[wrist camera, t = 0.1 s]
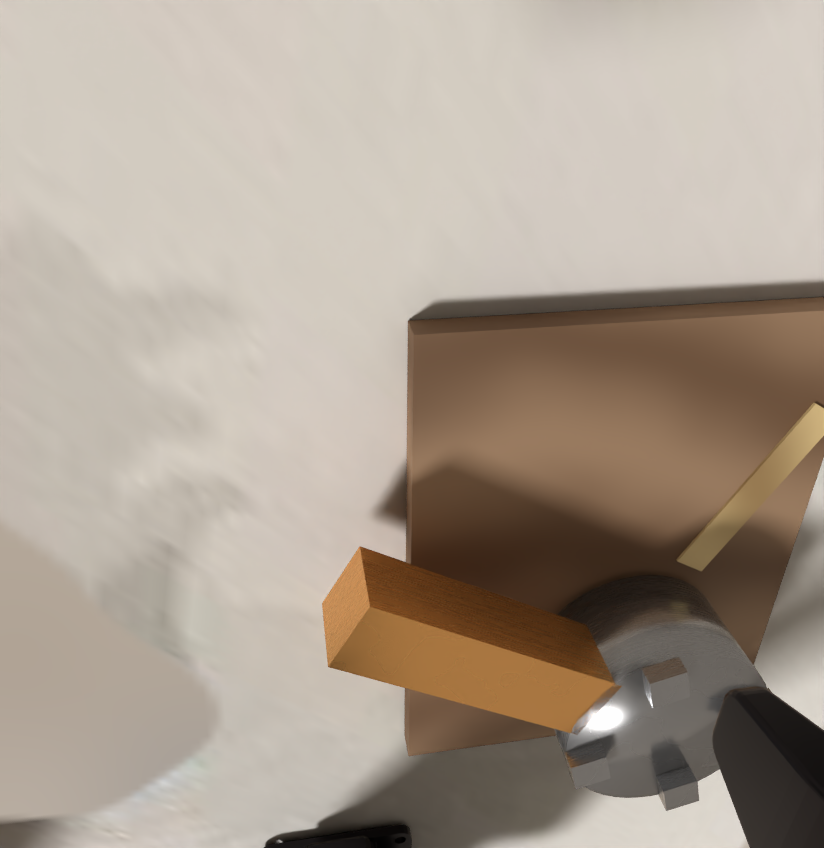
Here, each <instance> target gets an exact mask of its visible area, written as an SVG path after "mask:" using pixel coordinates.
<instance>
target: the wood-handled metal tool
mask: <svg viewBox="0 0 824 848" xmlns="http://www.w3.org/2000/svg"><path fill="white" fill-rule="evenodd" d="M322 607H323V618H324V628H325V639H326V649H327V660H328V667H330V668H334V669H338V670H341V671H345V672H349V673H352V674H356V675H360V676H363V677H367V678H371V679H374V680H378V681H382V682H385V683H389V684H393V685H396V686H400V687H404V688H407V689H411V690H415V691H418V692H422V693H425V694H429V695H433V696H436V697H440V698H444V699H447V700H451V701H455V702H458V703H462V704H466V705H469V706H473V707H477V708H480V709H484V710H488V711H491V712H495V713H499V714H502V715H506V716H510V717H513V718H517V719H521V720H524V721H528V722H532V723H535V724H539V725H542V726H546V727H550V728H553V729H554V730H555V733H556V735H557V738H558V741H559V743H560V746H561V748H562V751H563V754H564V756H565V759H566V762H567V764H568V768H569V773H570V775H571V778H572V781H573V783H574V786H575V789H579V788H582V787H586V788H588V789H590V790H592V791H594V792H597V793H600V794H603V795H608V796H613V797H624V798H632V797H645V796H652V795H658V794H659V797H660V799H661V801H662V803H663V805H664V807H665V809H666V811H668V810H671V809H674V808H677V807H680V806H683V805H687V804H690V803H693V802H696V801H699V795H698V783H697V781H699V780H701V779H703V778H705V777H707V776H709V775H711V774H712V773H714V772H715V771H717V770H719V769H720V767H719V765H718V762H717V760H716V757H715V754H714V750H713V745H712V733H713V730H714V727H715V724H716V721H717V718H718V715H719V712H720V709H721V706H722V703H723V700H724V697H725V695H726V694H727V693H728V692H729V691H730V690H732V689H739V688H747V687H762V688H765V689H767V690H769V691H770V689H769V688H767V687H766V684H765V682H764V681H763V679H762V677H761V676H760V674H759V673H758V671H757V670H756V669H755V667H754V666H753V664H752V663H751V661H750V660H749V659H748V657H747V656H746V654H745V653H744V651H743V650H742V649H741V647H740V646H739V644H738V643H737V641H736V640H735V639H734V637H733V636H732V634H731V633H730V631H729V630H728V629H727V627H726V626H725V624H724V623H723V621H722V620H721V619H720V617H719V616H718V614H717V613H716V611H715V610H714V608H713V607H712V606H711V604H710V603H709V601H708V600H707V598H706V597H705V596H704V595H703V594H702V593H701V592H700V590H698V589H697V588H696V587H694V586H693V585H691V584H689V583H687V582H685V581H683V580H680V579H677V578H674V577H668V576H663V575H640V576H633V577H627V578H623V579H619V580H615V581H612V582H609V583H607V584H604V585H601V586H599V587H597V588H595V589H593V590H590V591H588V592H587V593H585V594H583V595H582V596H580V597H578V598H577V599H575V600H574V601H573V602H571V603H570V604H568V605H567V606H566V607H565V608H564V609H562V610H561V611H560V612H559V613H558V614H557V615H556V614H553V613H550V612H548V611H545V610H542V609H539V608H536V607H533V606H530V605H527V604H524V603H522V602H519V601H516V600H513V599H510V598H507V597H504V596H501V595H499V594H496V593H493V592H490V591H487V590H484V589H481V588H478V587H475V586H473V585H470V584H467V583H464V582H461V581H458V580H455V579H452V578H449V577H447V576H444V575H441V574H438V573H435V572H432V571H429V570H426V569H424V568H421V567H418V566H415V565H412V564H409V563H406V562H403V561H400V560H398V559H395V558H392V557H389V556H386V555H383V554H380V553H377V552H374V551H372V550H369V549H366V548H363V547H359V548H358V550H357V551H356V553H355V554H354V556H353V557H352V559H351V560H350V562H349V563H348V565H347V567H346V568H345V570H344V571H343V573H342V574H341V576H340V577H339V579H338V580H337V582H336V583H335V585H334V586H333V588H332V589H331V591H330V592H329V594H328V595H327V597H326V598H325V600H324V601H323V603H322ZM770 692H771V691H770Z"/></svg>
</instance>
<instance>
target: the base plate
mask: <svg viewBox="0 0 824 848" xmlns="http://www.w3.org/2000/svg"><path fill="white" fill-rule="evenodd" d="M823 457H824V297H816V298H798V299H781V300H763V301H745V302H728V303H710V304H692V305H675V306H657V307H640V308H622V309H604V310H587V311H569V312H551V313H534V314H516V315H499V316H481V317H463V318H446V319H428V320H410V321H408V384H407V504H406V563H409V564H412V565H415V566H418V567H421V568H424V569H426V570H429V571H432V572H435V573H438V574H441V575H444V576H447V577H449V578H452V579H455V580H458V581H461V582H464V583H467V584H470V585H473V586H475V587H478V588H481V589H484V590H487V591H490V592H493V593H496V594H499V595H501V596H504V597H507V598H510V599H513V600H516V601H519V602H522V603H524V604H527V605H530V606H533V607H536V608H539V609H542V610H545V611H548V612H550V613H553V614H556V615H557V614H558V613H559V612H560V611H561V610H562V609H564V608H565V607H566V606H567V605H568V604H570V603H571V602H573V601H574V600H575V599H577V598H578V597H580V596H582V595H583V594H585V593H587V592H588V591H590V590H593V589H595V588H597V587H599V586H601V585H604V584H607V583H609V582H612V581H615V580H619V579H623V578H627V577H633V576H640V575H663V576H668V577H674V578H677V579H680V580H683V581H685V582H687V583H689V584H691V585H693V586H694V587H696V588H697V589H698V590H700V592H701V593H702V594H703V595H704V596H705V597H706V598H707V600H708V601H709V603H710V604H711V606H712V607H713V608H714V610H715V611H716V613H717V614H718V616H719V617H720V619H721V620H722V621H723V623H724V624H725V626H726V627H727V629H728V630H729V631H730V633H731V634H732V636H733V637H734V639H735V640H736V641H737V643H738V644H739V646H740V647H741V649H742V650H743V651H744V653H745V654H746V656H747V657H748V659H749V660H750V661H751V663H752V664H753V665H754V662H755V659H756V656H757V653H758V650H759V647H760V644H761V641H762V638H763V635H764V632H765V629H766V626H767V623H768V620H769V617H770V614H771V611H772V608H773V605H774V602H775V599H776V597H777V594H778V591H779V588H780V585H781V582H782V579H783V576H784V573H785V570H786V567H787V564H788V561H789V558H790V555H791V552H792V549H793V546H794V543H795V540H796V537H797V534H798V531H799V528H800V526H801V523H802V520H803V517H804V514H805V511H806V508H807V505H808V502H809V499H810V496H811V493H812V490H813V487H814V484H815V481H816V478H817V475H818V472H819V469H820V466H821V463H822V460H823ZM555 735H556V733H555V730H554V729H553V728H550V727H546V726H542V725H539V724H535V723H532V722H528V721H524V720H521V719H517V718H513V717H510V716H506V715H502V714H499V713H495V712H491V711H488V710H484V709H480V708H477V707H473V706H469V705H466V704H462V703H458V702H455V701H451V700H447V699H444V698H440V697H436V696H433V695H429V694H425V693H422V692H418V691H415V690H411V689H407V688H405V739H406V745H407V750H408V756H413V755H420V754H427V753H434V752H441V751H448V750H455V749H463V748H470V747H477V746H484V745H491V744H498V743H505V742H512V741H519V740H526V739H534V738H541V737H548V736H555Z"/></svg>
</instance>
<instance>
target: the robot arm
mask: <svg viewBox="0 0 824 848" xmlns="http://www.w3.org/2000/svg"><path fill="white" fill-rule="evenodd" d="M712 745H713V750H714V754H715V757H716V760H717V762H718V765H719V767H720V770H721V773H722V775H723V778H724V781H725V783H726V786H727V789H728V791H729V794H730V797H731V799H732V802H733V805H734V807H735V810H736V812H737V815H738V818H739V820H740V823H741V826H742V828H743V831H744V834H745V836H746V839H747V842H748V844H749V847H750V848H824V730H823V729H821V728H820V727H819V726H817V725H816V724H814V723H813V722H812V721H810V720H809V719H808V718H806V717H805V716H803V715H802V714H801V713H799V712H798V711H797V710H795V709H794V708H792V707H791V706H790V705H788V704H787V703H785V702H784V701H783V700H781V699H780V698H779V697H777V696H776V695H774V694H773V693H772V692H770V691H769V690H767V689H765V688H762V687H747V688H739V689H732V690H730V691H729V692H728V693H727V694H726V695H725V697H724V700H723V703H722V706H721V709H720V712H719V715H718V718H717V721H716V724H715V727H714V730H713V733H712ZM411 843H412V838H411V832H410V828H409V827H408V826H407V825H394V826H388V827H381V828H375V829H368V830H362V831H355V832H349V833H342V834H336V835H329V836H323V837H316V838H310V839H303V840H297V841H290V842H284V843H277V844H271V845H268V846H266V847H264V848H411Z"/></svg>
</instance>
